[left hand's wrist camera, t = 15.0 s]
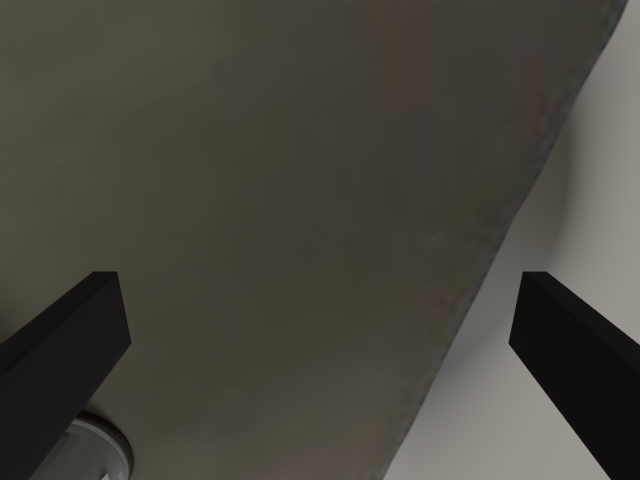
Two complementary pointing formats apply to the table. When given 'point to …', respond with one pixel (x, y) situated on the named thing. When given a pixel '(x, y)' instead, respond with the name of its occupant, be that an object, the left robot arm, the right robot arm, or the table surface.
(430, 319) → the table surface
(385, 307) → the table surface
